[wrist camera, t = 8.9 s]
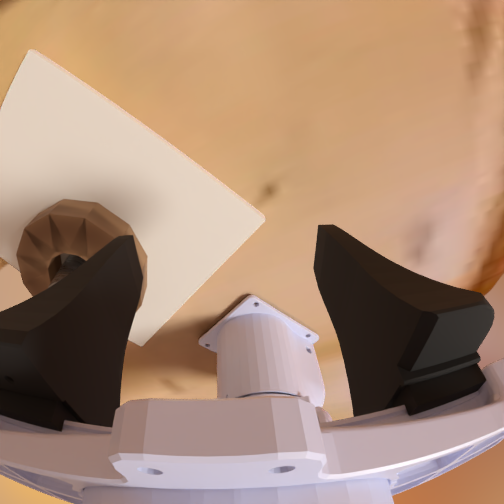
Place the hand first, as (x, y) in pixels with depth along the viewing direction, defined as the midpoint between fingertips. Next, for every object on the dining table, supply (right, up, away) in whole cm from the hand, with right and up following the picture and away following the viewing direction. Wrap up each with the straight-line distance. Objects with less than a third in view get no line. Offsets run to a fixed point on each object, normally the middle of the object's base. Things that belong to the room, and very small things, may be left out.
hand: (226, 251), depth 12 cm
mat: (-12, +3, +10) cm, 16 cm away
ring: (-13, -1, +11) cm, 17 cm away
